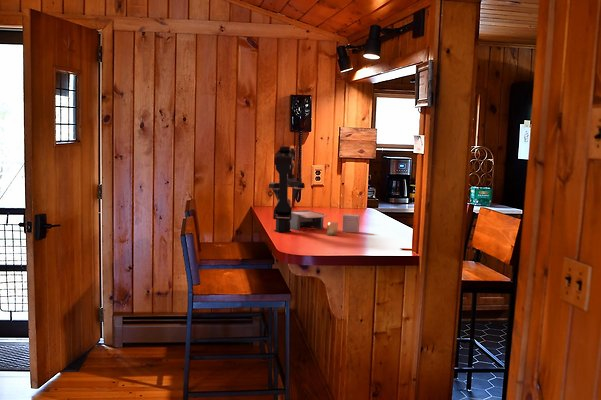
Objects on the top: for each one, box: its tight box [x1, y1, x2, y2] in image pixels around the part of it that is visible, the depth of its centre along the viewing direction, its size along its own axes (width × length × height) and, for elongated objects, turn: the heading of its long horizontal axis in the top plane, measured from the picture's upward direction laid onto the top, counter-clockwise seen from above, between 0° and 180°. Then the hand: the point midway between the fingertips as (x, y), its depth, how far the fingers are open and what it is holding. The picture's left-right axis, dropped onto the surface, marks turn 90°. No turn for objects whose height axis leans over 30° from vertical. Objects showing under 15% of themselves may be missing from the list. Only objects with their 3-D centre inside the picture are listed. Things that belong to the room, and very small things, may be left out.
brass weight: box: [326, 221, 339, 237], centre depth 323 cm, size 5×5×6 cm
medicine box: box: [341, 213, 360, 234], centre depth 335 cm, size 8×4×9 cm, turn 74°
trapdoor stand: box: [289, 209, 325, 231], centre depth 344 cm, size 16×15×8 cm
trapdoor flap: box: [292, 211, 328, 222], centre depth 340 cm, size 12×18×5 cm
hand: (286, 201), depth 344 cm, fingers open, 9 cm apart
